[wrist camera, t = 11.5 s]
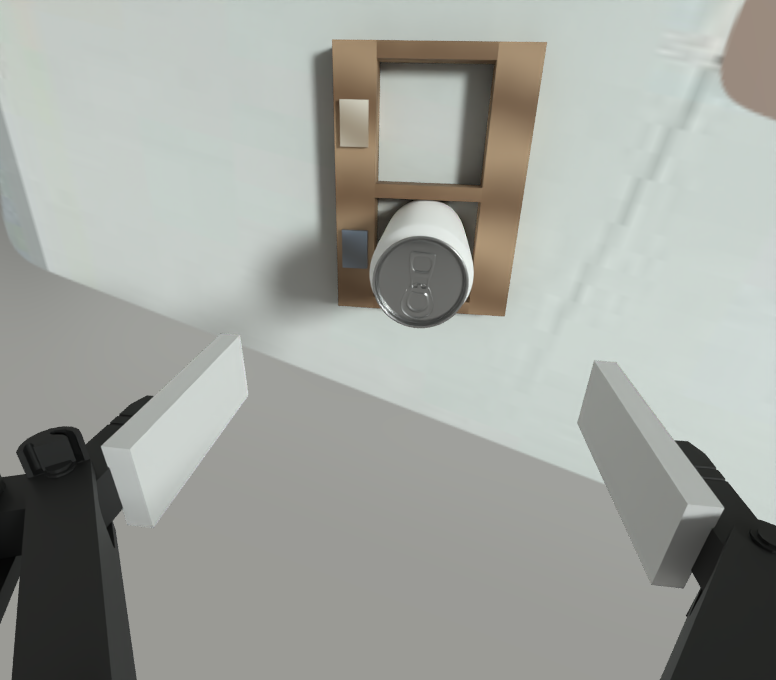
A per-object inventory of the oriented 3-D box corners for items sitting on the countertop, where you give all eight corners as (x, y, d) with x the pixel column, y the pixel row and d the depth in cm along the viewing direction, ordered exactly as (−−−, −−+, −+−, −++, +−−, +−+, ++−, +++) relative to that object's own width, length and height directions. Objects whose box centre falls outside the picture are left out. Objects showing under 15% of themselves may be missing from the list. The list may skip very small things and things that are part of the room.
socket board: (338, 44, 31) (330, 38, 29) (540, 47, 30) (548, 41, 28) (343, 297, 39) (337, 307, 37) (501, 307, 38) (505, 318, 36)
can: (383, 271, 38) (361, 328, 27) (389, 193, 35) (368, 222, 24) (458, 279, 37) (466, 340, 27) (470, 201, 34) (485, 234, 24)
